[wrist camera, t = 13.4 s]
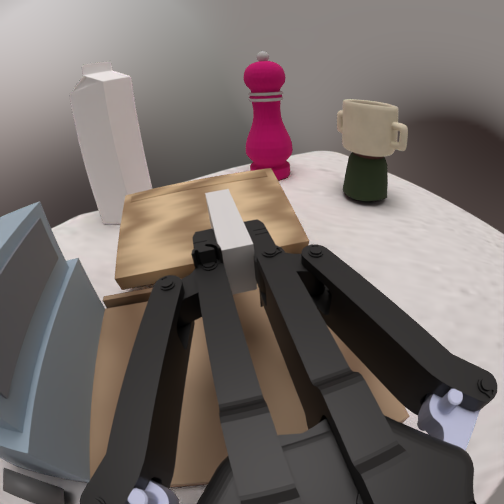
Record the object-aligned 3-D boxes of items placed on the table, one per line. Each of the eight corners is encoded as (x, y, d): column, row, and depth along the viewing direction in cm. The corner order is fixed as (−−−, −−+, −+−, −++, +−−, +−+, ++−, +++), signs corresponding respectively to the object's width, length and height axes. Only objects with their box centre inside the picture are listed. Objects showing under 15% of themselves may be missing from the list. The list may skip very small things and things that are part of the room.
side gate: (114, 278, 20) (125, 195, 27) (122, 290, 21) (129, 206, 28) (309, 240, 22) (270, 167, 29) (306, 253, 24) (270, 180, 30)
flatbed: (101, 484, 10) (84, 478, 8) (111, 311, 21) (103, 296, 20) (401, 423, 12) (413, 412, 11) (314, 271, 24) (316, 254, 23)
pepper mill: (299, 179, 41) (294, 49, 29) (253, 185, 40) (241, 49, 28) (285, 165, 47) (279, 53, 35) (244, 170, 46) (233, 55, 34)
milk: (156, 203, 38) (130, 54, 25) (136, 225, 34) (100, 55, 21) (123, 204, 39) (95, 67, 26) (102, 225, 35) (65, 72, 22)
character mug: (408, 205, 33) (421, 111, 25) (381, 220, 30) (394, 110, 22) (350, 178, 41) (354, 97, 33) (319, 189, 38) (319, 97, 30)
